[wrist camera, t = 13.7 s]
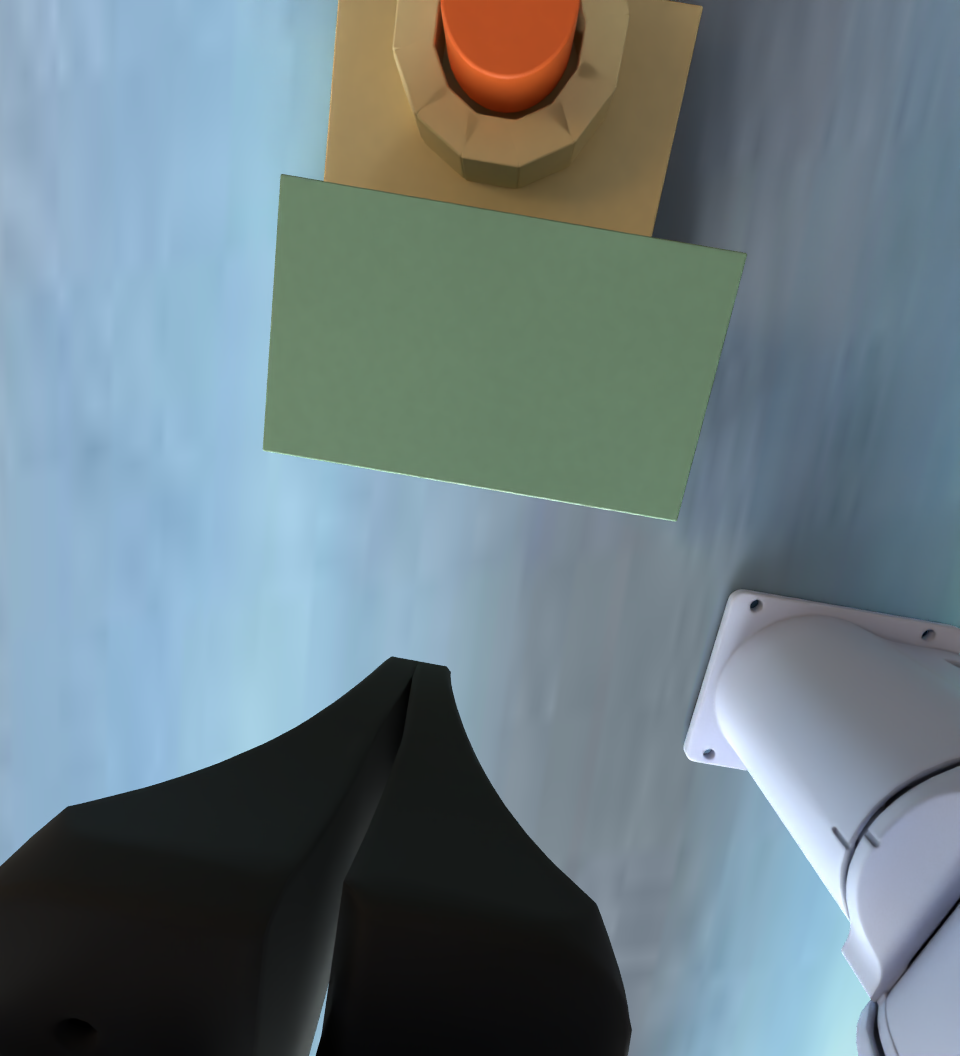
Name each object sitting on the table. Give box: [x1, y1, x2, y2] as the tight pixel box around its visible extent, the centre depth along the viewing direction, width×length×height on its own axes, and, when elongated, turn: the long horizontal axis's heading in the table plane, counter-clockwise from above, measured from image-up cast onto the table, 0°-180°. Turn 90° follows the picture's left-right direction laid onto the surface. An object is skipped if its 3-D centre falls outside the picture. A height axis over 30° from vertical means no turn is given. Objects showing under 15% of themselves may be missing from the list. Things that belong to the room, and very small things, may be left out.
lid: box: [263, 174, 747, 521], centre depth 15 cm, size 8×13×1 cm, turn 81°
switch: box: [440, 0, 580, 113], centre depth 14 cm, size 4×4×2 cm
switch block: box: [324, 0, 703, 237], centre depth 16 cm, size 11×7×3 cm, turn 81°
